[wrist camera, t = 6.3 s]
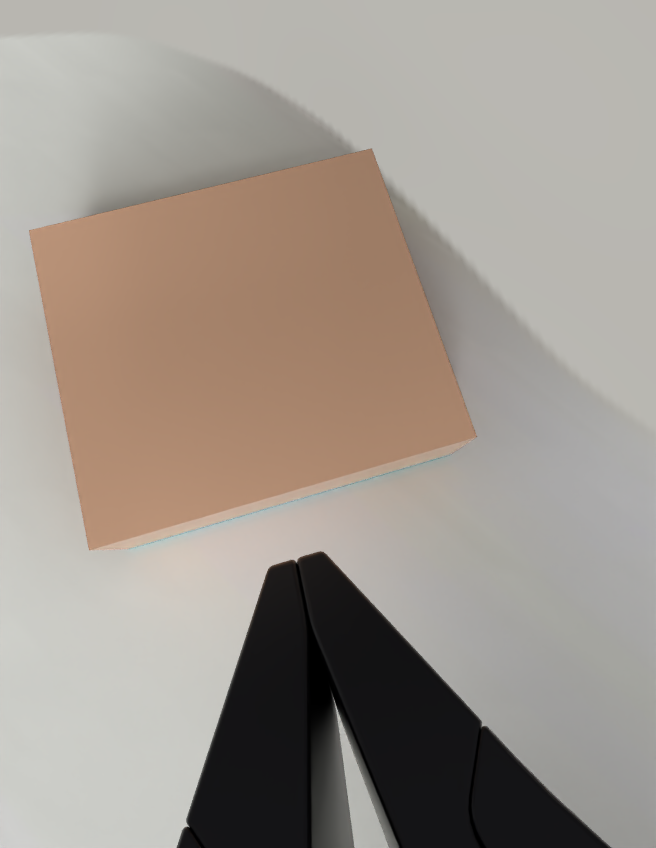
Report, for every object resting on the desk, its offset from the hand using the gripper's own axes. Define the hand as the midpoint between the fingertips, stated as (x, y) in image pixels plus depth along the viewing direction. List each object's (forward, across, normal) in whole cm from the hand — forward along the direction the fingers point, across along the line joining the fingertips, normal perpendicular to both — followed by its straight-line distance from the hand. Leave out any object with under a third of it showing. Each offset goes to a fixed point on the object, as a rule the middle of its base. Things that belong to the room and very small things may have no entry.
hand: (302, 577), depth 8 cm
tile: (+6, 0, +3) cm, 7 cm away
